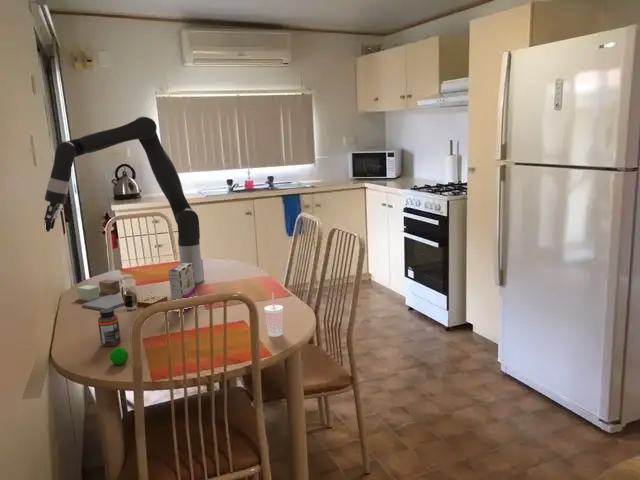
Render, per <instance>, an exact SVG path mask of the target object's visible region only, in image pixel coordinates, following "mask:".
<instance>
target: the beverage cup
mask: <svg viewBox="0 0 640 480" xmlns="http://www.w3.org/2000/svg"><path fill="white" fill-rule="evenodd" d="M274 294H275V293H274V292H272V293H271V297H272V304H270V305H266V306H264V309H263V310H264V312H265V319H266V326H267V327H266V328H267V335H268V336H269V337H272V338H274V337H280V336H282V335H283V311H284V306H283V305H280V304H275V297H274V296H275V295H274Z"/></svg>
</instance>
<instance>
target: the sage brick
mask: <svg viewBox="0 0 640 480" xmlns="http://www.w3.org/2000/svg"><path fill="white" fill-rule="evenodd" d="M77 294H78V296H77V297H78V299H79V300H81V299H82V300H81V301H87V302H90V301H93V300H96V299H99V298H101V297H100V288H99V286H98V285H91V284H89V285H88V284H86V285H82V286H79V287H77Z"/></svg>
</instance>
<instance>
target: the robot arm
mask: <svg viewBox="0 0 640 480" xmlns="http://www.w3.org/2000/svg"><path fill="white" fill-rule="evenodd" d="M157 128H158V127H157V124H156V122H155V120H154V119H153V118H152V117H149V116H146V115H145V116H142V115H141V116H139V117H137V118H136V119H135V120H132V121H130V122H128V123H126V124H124V125H121V126H118V127H114V128H109V129H105V130H104V129H103V130H102V131H97V132H94V133H93V132H92V133H90V134H86V135H84V136H82V137H79V138H74V139H70V140H65V141H62V142H60V143H58V144H57V146H56V147H55V148H56V150H55V152H54V153H55V154H54V160H53V166H52V170H51V173H50V178H49V181H48V183H47V187H46V191H45V194H44V195H45V196H44V200H45V201H46V202H49V205H47V207H46V211H45V216H44V218H43V220H44V224H45V223H46V230H47V231H46V232H48V233H49V232H50V231H51V230H53V229H54V226H55V224H56V220H57V218H58V215H59V211H60V206H61V205H65V204H66V201H67V197H68V192H69V187H70V181H71V177H72V167H73V165H74V162H75V161H74V160H75V158H77V157H80V156H83V155H86V154H90V153H91V154H92V153H95V152H98V151H101V150H104V149H105V150H106V149H108V148H110V147H114V146H116V145H119V144H122V143H125V142H130V141H135V140H138V142H139V143H140V144H141V146H142V148H143V150H144V152H145V154H146V156H147V160H148V163H149V165H150V168H151V171H152V173H153V175H154V177H155V180H156V183H157V185H158V186H159V188H160V190H161V192H162V193H163V195H164V197H165V198H166V199H167V201H168V203H169V206H170V208H171V210H172V214H173V217H174V221H175V224H176V225H177V234H178V237H177V244H178V254H179V264H181V263H193V273H194V283H195V285H196V284H200V283H202V282H203V281H204V280H205V274H204V261H203V259H202V254H201V246H200V245H201V244H200V242H201V241H200V240H201V239H200V237H201V233H200V231H201V230H200V219H199V216H198V213H196V211H195V210H193V208H192V207H191V206H190V204H189V202H188V200H187V198H186V197H185V194H184V190H183V185H182V183H181V178H180V176H179V173H178V172H177V170H176V169H177V168H175V165H174V163H173V161H172V159H171V157H170V156H169V155H168V153H167V152H166V151H165V149H164V147H163V145H162V144H161V141H160V139H159V138H160V137H159V135H158V133H157V130H158V129H157Z"/></svg>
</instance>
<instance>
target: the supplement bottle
mask: <svg viewBox="0 0 640 480" xmlns="http://www.w3.org/2000/svg"><path fill="white" fill-rule="evenodd" d="M99 315H100V316H99V317H98V318H97V325H98V331H99V338H100V339H99V340H100V344H101V346H103V347H114V346H117V345H119V344H120V343H121V342H122V339H121V332H120V324H119V318H118V315H117V314H115V310H114V309H112V308H107V309H103V310H99Z"/></svg>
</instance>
